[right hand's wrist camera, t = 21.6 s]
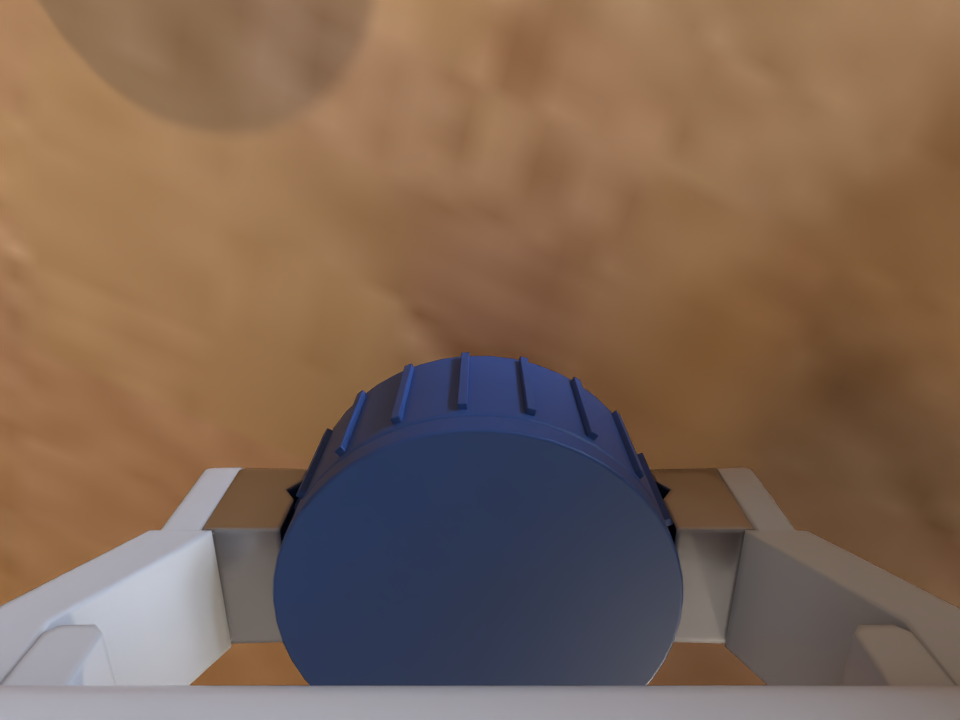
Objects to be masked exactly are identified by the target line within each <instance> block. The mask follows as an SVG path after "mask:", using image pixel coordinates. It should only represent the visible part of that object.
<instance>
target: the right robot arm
mask: <svg viewBox="0 0 960 720" xmlns="http://www.w3.org/2000/svg"><path fill="white" fill-rule="evenodd" d="M307 470H308V469H274V468H244V469H243V468H241V467H234V468H210V469H206V470H205V471H204V472H203V473H202V474H201V476H200V477H199V478H198V480H197V481H196V483H195V484H194V485H193V487H192V488H191V489H190V491H189V492H188V493H187V495H186V496H185V498H184V499H183V500H182V502H181V503H180V504H179V506H178V507H177V508H176V510H175V511H174V512H173V514H172V515H171V517H170V518H169V519H168V521H167V522H166V523H165V525H164V526H163V527H162V529H161V530H149V531H147V532H145V533H143V534H141V535H139V536H137V537H135V538H134V539H132V540H130V541H128V542H126V543H124V544H122V545H120V546H118V547H116V548H114V549H112V550H110V551H108V552H106V553H104V554H102V555H100V556H98V557H96V558H94V559H92V560H90V561H88V562H86V563H84V564H82V565H80V566H78V567H76V568H74V569H72V570H70V571H68V572H66V573H64V574H62V575H61V576H59V577H57V578H55V579H53V580H51V581H49V582H47V583H45V584H43V585H41V586H39V587H37V588H35V589H33V590H31V591H29V592H27V593H25V594H23V595H21V596H19V597H17V598H15V599H13V600H11V601H9V602H7V603H5V604H3V605H1V606H0V720H960V608H958V607H956V606H954V605H952V604H950V603H948V602H946V601H944V600H942V599H940V598H938V597H936V596H934V595H932V594H931V593H929V592H927V591H925V590H923V589H921V588H919V587H917V586H915V585H913V584H911V583H909V582H907V581H905V580H903V579H901V578H899V577H897V576H895V575H893V574H891V573H889V572H887V571H886V570H884V569H882V568H880V567H878V566H876V565H874V564H872V563H870V562H868V561H866V560H864V559H862V558H860V557H858V556H856V555H854V554H852V553H850V552H848V551H846V550H844V549H842V548H840V547H839V546H837V545H835V544H833V543H831V542H829V541H827V540H825V539H823V538H821V537H819V536H817V535H815V534H813V533H811V532H809V531H807V530H796V529H795V528H794V527H793V525H792V524H791V523H790V521H789V520H788V519H787V517H786V516H785V514H784V513H783V512H782V510H781V509H780V508H779V506H778V505H777V504H776V502H775V501H774V499H773V498H772V497H771V495H770V494H769V493H768V491H767V490H766V489H765V487H764V486H763V484H762V483H761V482H760V480H759V479H758V478H757V476H756V475H755V474H754V472H753V471H752V470H751V469H749V468H746V467H737V468H704V469H663V470H650V471H651V474H652V476H653V478H654V480H655V483H656V485H657V487H658V489H659V492H660V494H661V496H662V499H663V501H664V503H665V505H666V508H667V510H668V512H669V514H670V517H671V519H672V522H673V525H670V526H667V527H668V529H669V532H670V534H671V537H672V539H673V542H674V545H675V547H676V550H677V553H678V555H679V560H680V565H681V570H682V575H683V605H682V612H681V619H680V623H679V627H678V630H677V633H676V636H675V640H674V642H691V643H725V647H726V648H727V649H729V650H730V651H731V652H732V653H733V654H734V655H735V656H736V657H737V658H738V659H739V660H741V661H742V662H743V663H744V664H745V665H746V666H747V667H748V668H749V669H750V670H752V671H753V672H754V673H755V674H756V675H757V676H758V677H759V678H760V679H761V680H762V681H764V682H765V683H766V684H767V685H768V686H189V685H190V684H191V683H192V682H193V681H194V680H196V679H197V678H198V677H199V676H200V675H201V674H202V673H203V672H204V671H205V670H207V669H208V668H209V667H210V666H211V665H212V664H213V663H214V662H215V661H216V660H218V659H219V658H220V657H221V656H222V655H223V654H224V653H225V652H226V651H227V650H229V649H230V648H231V643H264V642H283V641H282V638H281V635H280V631H279V628H278V625H277V622H276V616H275V609H274V603H273V577H274V571H275V566H276V560H277V555H278V553H279V550H280V547H281V544H282V542H283V539H284V536H285V534H286V531H287V529H288V527H289V524H290V522H291V520H292V518H293V515H294V513H295V503H296V501H297V499H298V497H297V496H296V494H297V492H298V490H299V488H300V485H301V483H302V481H303V479H304V477H305V474H306V472H307Z"/></svg>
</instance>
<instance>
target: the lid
mask: <svg viewBox="0 0 960 720" xmlns="http://www.w3.org/2000/svg"><path fill="white" fill-rule="evenodd" d="M296 496H297V497H298V499H297V501H296V503H295V513H294V515H293V518H292V520H291V522H290V524H289V527H288V529H287V531H286V534H285V536H284V539H283V542H282V544H281V547H280V550H279V553H278V555H277V560H276V566H275V571H274V577H273V603H274V609H275V616H276V622H277V625H278V628H279V631H280V635H281V638H282V641H283V643H284V645H285V647H286V649H287V651H288V654H289V656H290V658H291V660H292V662H293V663H294V664H295V666H296V667H297V669H298V670H299V672H300V673H301V675H302V676H303V678H304V679H305V680H306V681H307V682H308V683H309V685H310V686H647V684H648V683H649V682H650V681H651V680H652V679H653V677H654V676H655V674H656V673H657V671H658V670H659V668H660V667H661V665H662V664H663V662H664V661H665V659H666V657H667V655H668V653H669V651H670V649H671V647H672V645H673V642H674V640H675V636H676V633H677V630H678V627H679V623H680V619H681V612H682V605H683V575H682V570H681V565H680V560H679V555H678V553H677V550H676V547H675V545H674V542H673V539H672V537H671V534H670V532H669V529H668V527H667V526H670V525H673V522H672V519H671V517H670V514H669V512H668V510H667V508H666V505H665V503H664V501H663V499H662V496H661V494H660V492H659V489H658V487H657V485H656V483H655V480H654V478H653V476H652V474H651V471H650V469H649V467H648V464H647V462H646V460H645V458H644V455H643V453H640V454H636V451H635V449H634V446H633V444H632V442H631V439H630V437H629V435H628V432H627V430H626V428H625V425H624V423H623V420H622V418H621V416H620V414H619V413H618V412H617V411H614V412H613V413H611V411H610V410H609V409H608V408H607V407H606V406H605V405H603V404H602V403H601V402H600V401H599V400H598V399H597V398H596V397H595V396H594V395H593V394H591V393H590V392H588V391H587V390H586V389H584V388H583V387H582V384H581V381H580V380H579V379H577V378H575V377H573V379H572V380H570V379H568V378H566V377H564V376H563V375H561V374H559V373H557V372H554V371H552V370H549V369H546V368H544V367H541V366H539V365H536V364H532V363H528V358H525V357H520V359H519V360H516V359H510V358H502V357H494V356H470V355H469V352H466V353H461V357H455V358H447V359H441V360H437V361H433V362H429V363H425V364H421V365H418V366H415V367H413V365H412V364H409V365H406V366H405V367H404V371H403V372H400V373H398V374H396V375H394V376H392V377H391V378H389V379H387V380H385V381H383V382H382V383H380V384H378V385H377V386H375V387H374V388H373V389H371V390H370V391H369V392H367V393H365V392H364V391H363V390H362V391H361V392H360V393H358V394H357V397H356V399H355V401H354V404H353V406H352V407H351V408H350V409H348V410H347V411H346V413H345V414H344V415H343V417H342V418H341V419H340V421H339V422H338V423H337V424H336V426H335V427H334V429H333V430H330V429H328V428H327V430H326V431H325V433H324V435H323V437H322V439H321V442H320V444H319V446H318V448H317V450H316V453H315V455H314V457H313V459H312V461H311V464H310V466H309V468H308V470H307V472H306V474H305V477H304V479H303V481H302V483H301V485H300V488H299V490H298V492H297V494H296Z"/></svg>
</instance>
